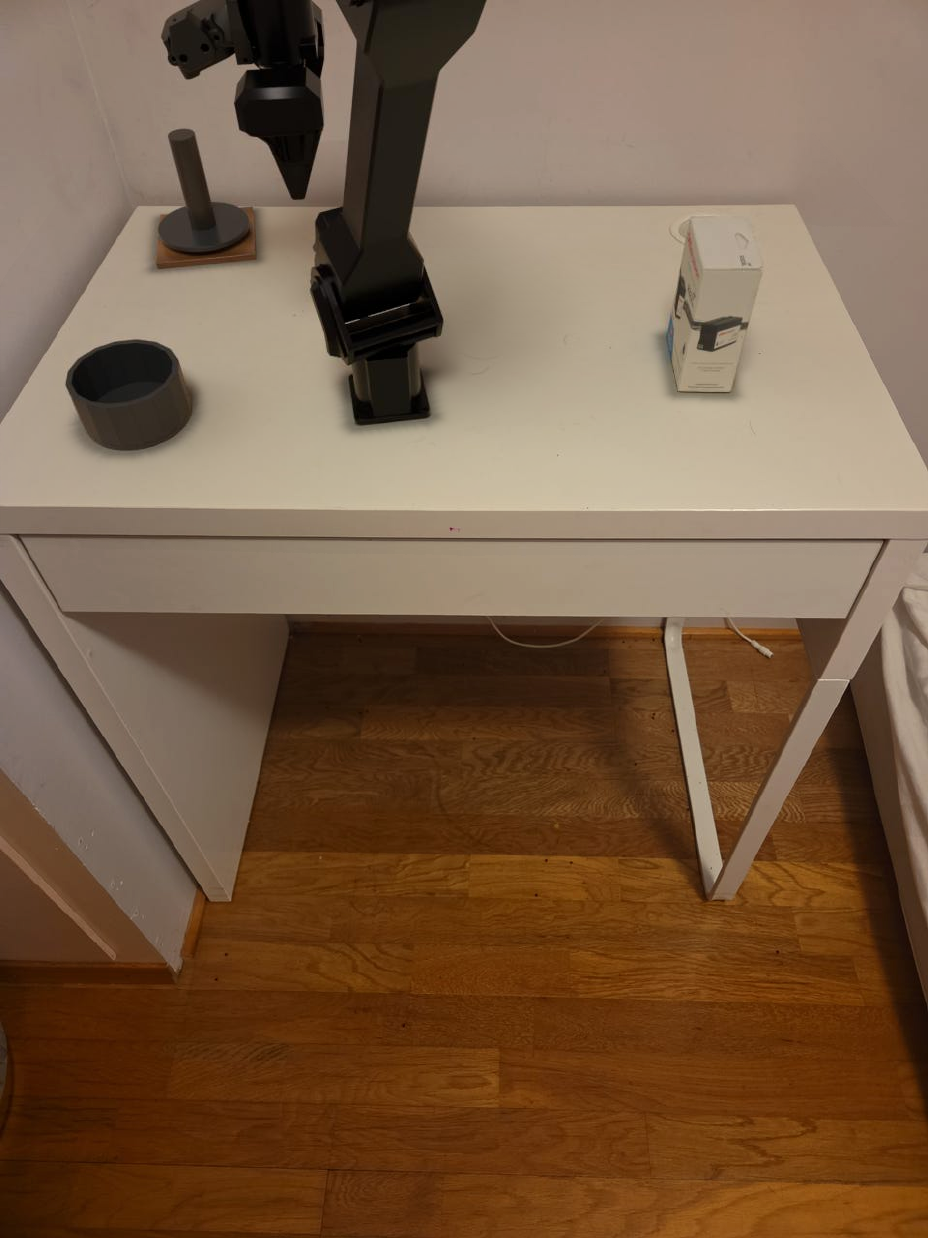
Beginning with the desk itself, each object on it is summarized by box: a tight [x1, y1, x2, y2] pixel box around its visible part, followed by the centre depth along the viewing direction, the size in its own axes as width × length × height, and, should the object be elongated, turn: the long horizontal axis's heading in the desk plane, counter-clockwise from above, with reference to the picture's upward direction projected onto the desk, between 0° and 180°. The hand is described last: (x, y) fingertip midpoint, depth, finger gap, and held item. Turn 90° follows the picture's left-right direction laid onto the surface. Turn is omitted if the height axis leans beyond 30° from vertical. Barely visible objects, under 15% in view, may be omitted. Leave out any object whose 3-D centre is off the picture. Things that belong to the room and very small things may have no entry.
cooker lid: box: [157, 128, 250, 252], centre depth 90 cm, size 9×9×10 cm
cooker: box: [64, 338, 193, 451], centre depth 75 cm, size 9×9×4 cm
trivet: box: [155, 206, 257, 270], centre depth 95 cm, size 10×10×1 cm
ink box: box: [666, 215, 764, 393], centre depth 76 cm, size 8×5×12 cm, turn 178°
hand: (299, 172), depth 76 cm, fingers open, 9 cm apart
